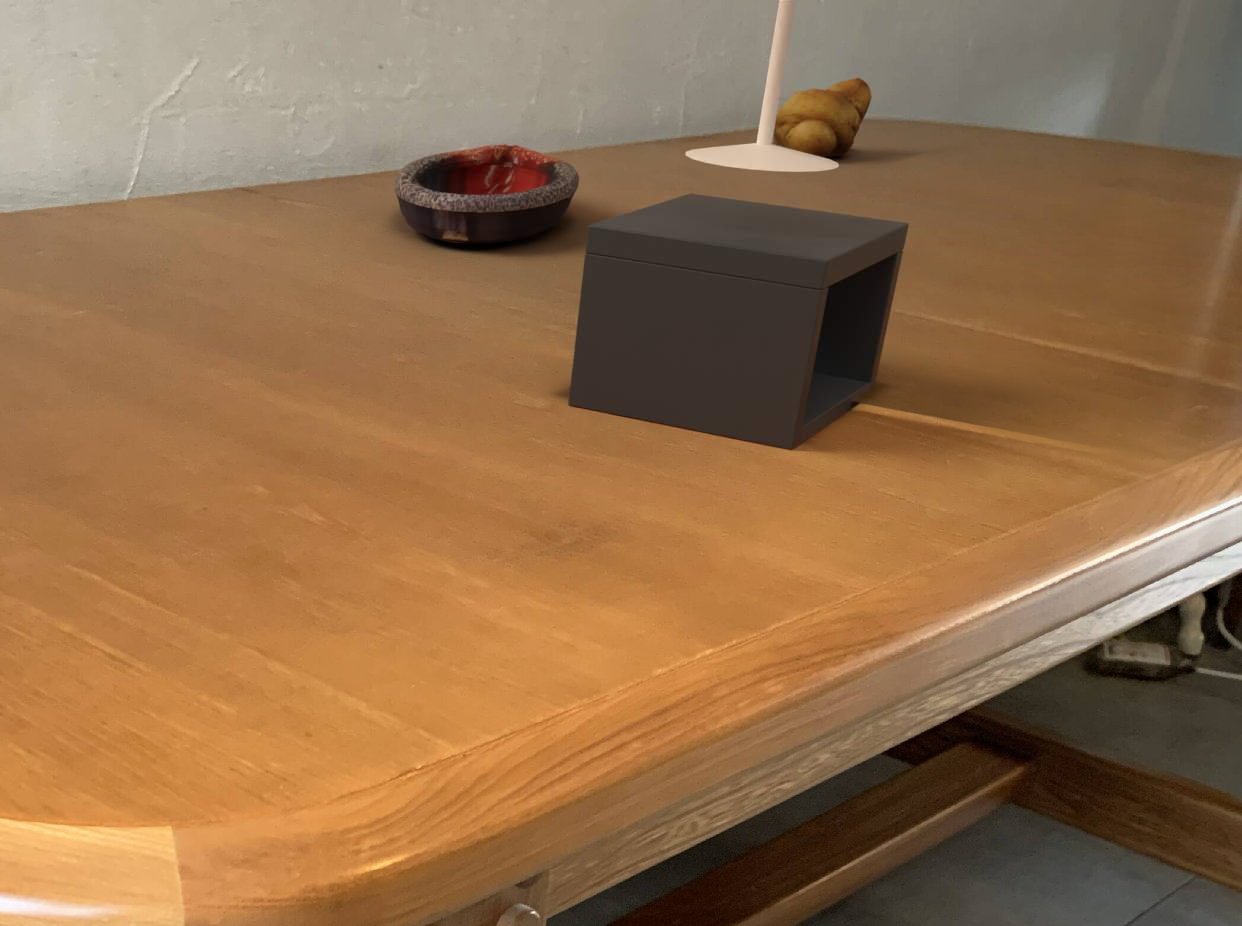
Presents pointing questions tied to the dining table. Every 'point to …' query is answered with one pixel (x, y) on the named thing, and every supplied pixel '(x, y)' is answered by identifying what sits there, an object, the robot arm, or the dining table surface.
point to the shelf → (734, 316)
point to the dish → (485, 194)
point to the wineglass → (768, 119)
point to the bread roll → (823, 118)
